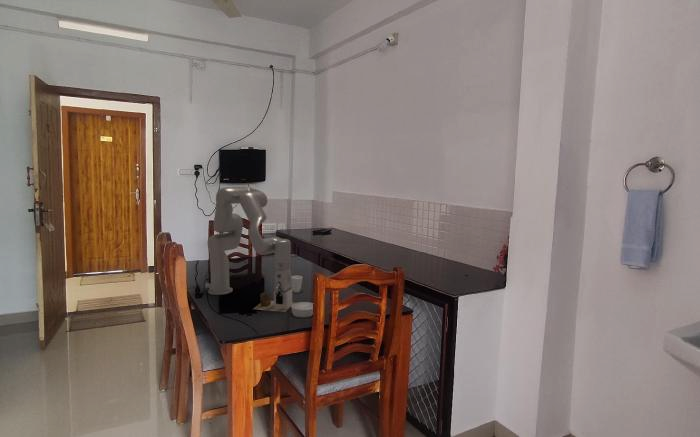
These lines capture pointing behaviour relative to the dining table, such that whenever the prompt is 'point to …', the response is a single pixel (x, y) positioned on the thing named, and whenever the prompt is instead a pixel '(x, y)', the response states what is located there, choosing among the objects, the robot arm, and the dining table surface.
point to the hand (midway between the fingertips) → (283, 300)
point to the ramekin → (302, 309)
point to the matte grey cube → (284, 299)
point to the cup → (296, 283)
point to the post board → (270, 308)
